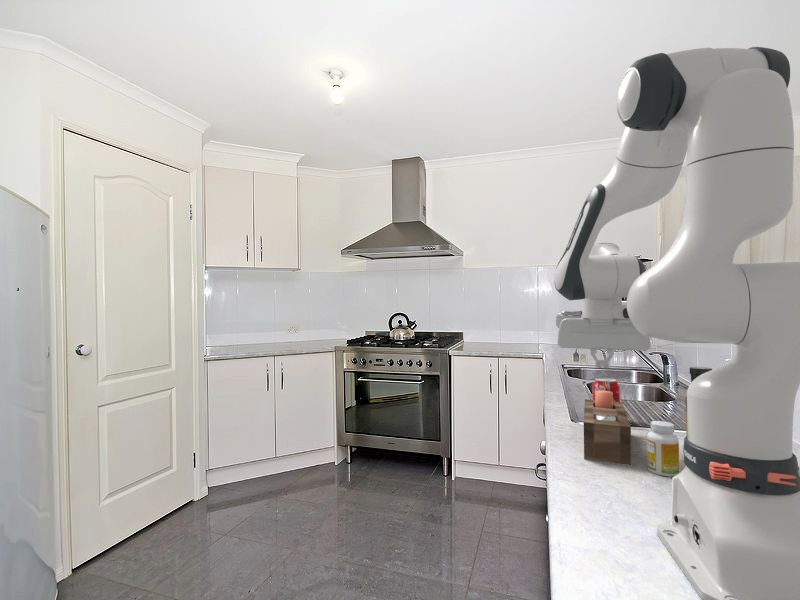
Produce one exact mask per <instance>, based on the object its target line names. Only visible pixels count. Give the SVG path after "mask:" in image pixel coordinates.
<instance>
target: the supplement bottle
mask: <svg viewBox="0 0 800 600" xmlns="http://www.w3.org/2000/svg"><path fill="white" fill-rule="evenodd" d="M650 430H651V431H649V432H648V433H647V434H646V445H647V446H646V448H647V449H646V450H647V451H646V453H647V454H646V455H647V458H646V461H647V470H648V471H649V472H650V473H652V474H654V475H658V476H663V477H670V478H671V477H672V478H673V477H675V476H676V475H677V474H679V473H680V441H679V438H678V436H677V435H675V434H674V433H675V424H673V423H671V422H669V421H664V420H651V421H650Z"/></svg>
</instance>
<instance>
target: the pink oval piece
mask: <svg viewBox="0 0 800 600" xmlns="http://www.w3.org/2000/svg"><path fill="white" fill-rule="evenodd" d="M595 407H598V408H609V409H613V392H610V391H603V390H598V391H595Z"/></svg>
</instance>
